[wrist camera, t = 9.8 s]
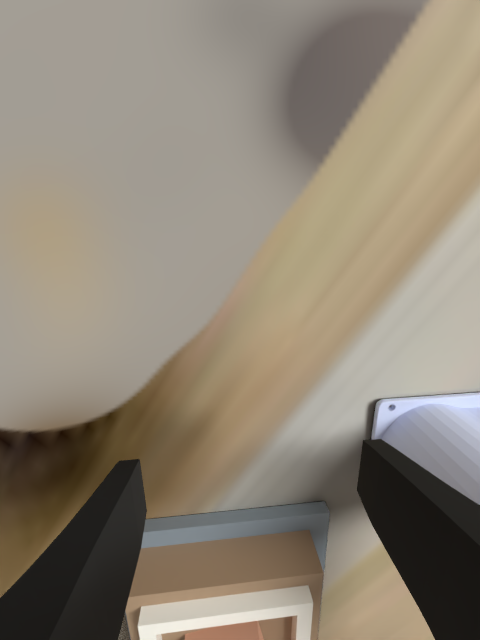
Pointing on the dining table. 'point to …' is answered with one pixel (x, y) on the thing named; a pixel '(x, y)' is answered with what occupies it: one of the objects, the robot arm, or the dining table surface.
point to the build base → (231, 573)
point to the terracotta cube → (228, 632)
